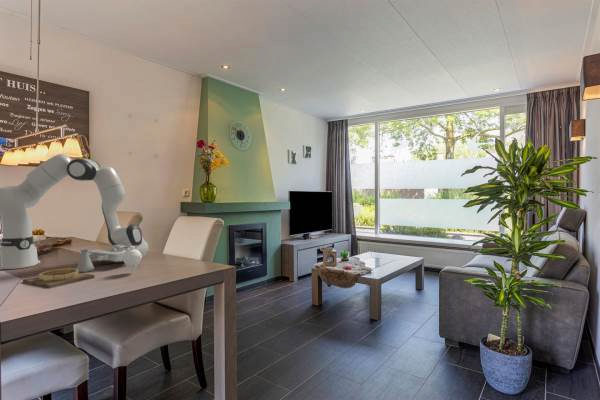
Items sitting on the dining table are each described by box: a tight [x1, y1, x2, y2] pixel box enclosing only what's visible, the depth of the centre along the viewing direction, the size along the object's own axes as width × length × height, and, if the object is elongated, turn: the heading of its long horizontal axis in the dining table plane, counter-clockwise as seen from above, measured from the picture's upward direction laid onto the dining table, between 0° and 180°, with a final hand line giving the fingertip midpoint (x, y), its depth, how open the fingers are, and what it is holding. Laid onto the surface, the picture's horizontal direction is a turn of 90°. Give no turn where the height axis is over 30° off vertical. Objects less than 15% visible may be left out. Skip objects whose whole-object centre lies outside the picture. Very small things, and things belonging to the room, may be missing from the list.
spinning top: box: [122, 246, 143, 274], centre depth 151 cm, size 8×8×12 cm
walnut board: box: [22, 272, 95, 289], centre depth 140 cm, size 19×17×1 cm
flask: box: [75, 248, 96, 273], centre depth 156 cm, size 7×7×10 cm
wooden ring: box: [38, 268, 80, 281], centre depth 140 cm, size 13×13×2 cm
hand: (91, 257), depth 159 cm, fingers open, 8 cm apart
